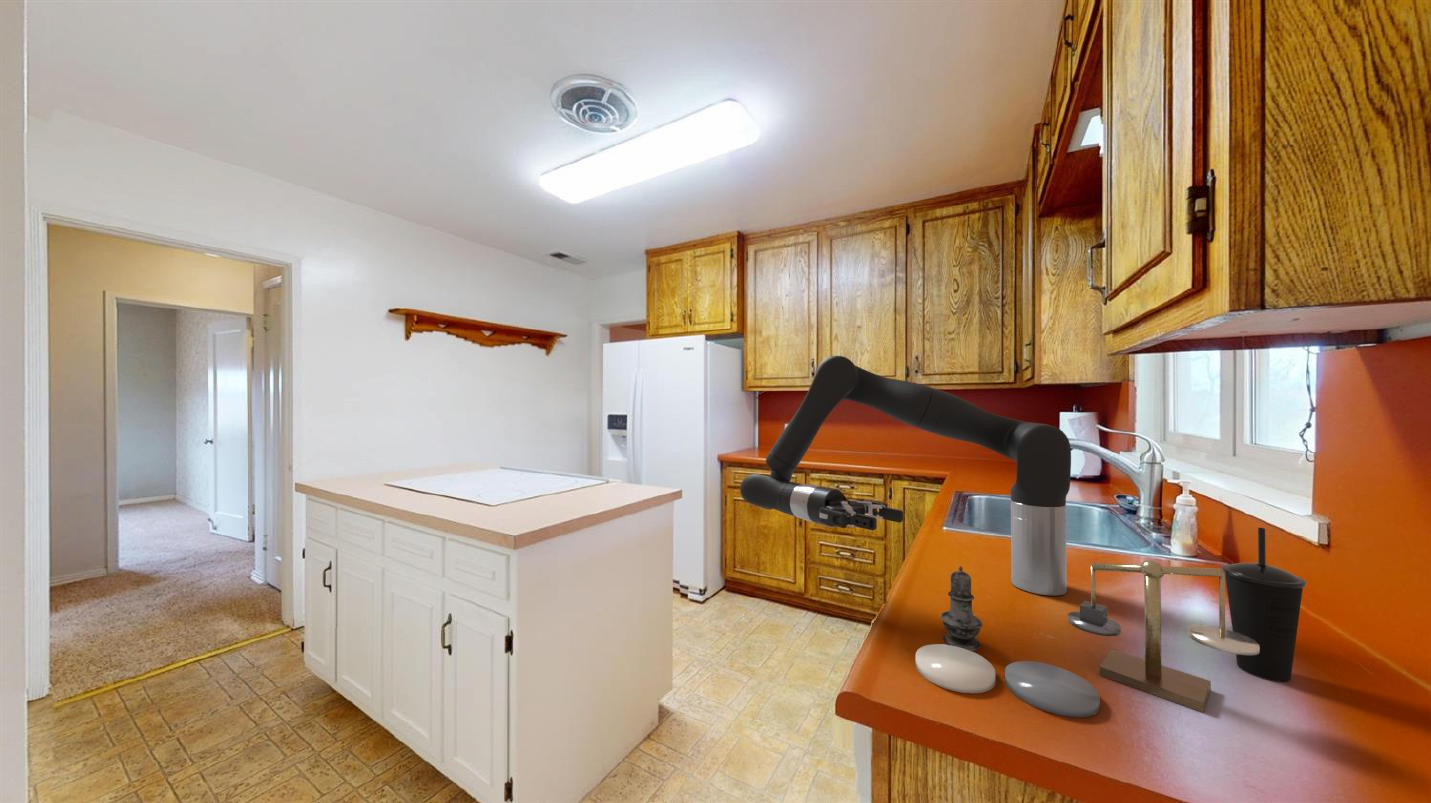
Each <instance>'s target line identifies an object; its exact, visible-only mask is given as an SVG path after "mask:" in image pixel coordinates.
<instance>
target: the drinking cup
mask: <svg viewBox="0 0 1431 803" xmlns="http://www.w3.org/2000/svg"><path fill="white" fill-rule="evenodd" d="M1266 547H1267V546H1266V528H1265V527H1257V560H1258V561H1257V562H1238V563H1237V562H1236V563H1232V564H1230V563H1228V564H1225V565H1222V566H1221V570H1222V572H1223V573H1225V587H1226V592H1227V599H1228V600H1227V601H1228V607H1229V608H1228V609H1229V615H1230V621H1231V631H1234V632H1237V633H1239V634H1242V635H1245V636H1247V637H1249V638H1251V639H1253V640H1255V641H1256V642H1257V643H1258V644H1259V645H1260V653H1259V654H1257V655H1238V654H1235V657H1236V664H1237V667H1238V668H1239V669H1241V670H1242V671H1244V672H1246V673H1247V674H1249V675H1251V676H1255V677H1257V678H1261V679H1264V680H1268V681H1273V682H1280V683H1288V682H1290V681H1291V680H1292V679H1291V678H1292V674H1293V673H1292V672H1293V665H1294V657H1295V649H1296V643H1297V642H1296V641H1297V636H1298V635H1297V634H1298V628H1299V620H1300V610H1301V605H1302V604H1301V602H1302V597H1303V590H1304V588H1306V587H1307V580H1305V579H1304V578H1302V577H1300V576H1297V575H1295V574H1293V573H1291V572H1289V571H1287V570H1284V569H1282V568H1279V567H1276V566H1272V565H1269V564H1267V562H1266V561H1267V560H1266V559H1267V558H1266V557H1267V556H1266V552H1267V551H1266Z"/></svg>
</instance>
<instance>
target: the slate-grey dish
mask: <svg viewBox="0 0 1431 803" xmlns="http://www.w3.org/2000/svg"><path fill="white" fill-rule="evenodd" d="M1004 681H1005V684H1006V686H1007V688H1008V689H1009V690H1010V692H1011V693H1012V694H1014V695H1015V697H1017V698H1018V699H1019V700H1021V701H1022V702H1025V703H1027V704H1028V705H1030V706H1033V707H1035V708H1036V709H1039V710H1041V711H1043V712H1044V711H1045V712H1047V713H1050V714H1053V715H1058V716H1061V717H1069V718H1089V717H1092V716H1094V715H1096V714H1098V712H1099V711H1100V704H1101V703H1100V694H1099V692H1098V690H1097V689H1096V688H1095V687H1094V685H1093V684H1091V683H1090V682H1089V681H1087V680H1086V679H1085V678H1082V677H1081V676H1079V675H1077V674H1075V672H1071V671H1070V670H1067V669H1064V668H1062V667H1059V666H1057V665H1056V666H1055V665H1053V664H1049V663H1044V662H1037V661H1030V660H1023V661H1022V660H1019V661H1015V662H1011V663H1010V664H1008V665H1006V667H1005V669H1004Z"/></svg>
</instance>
